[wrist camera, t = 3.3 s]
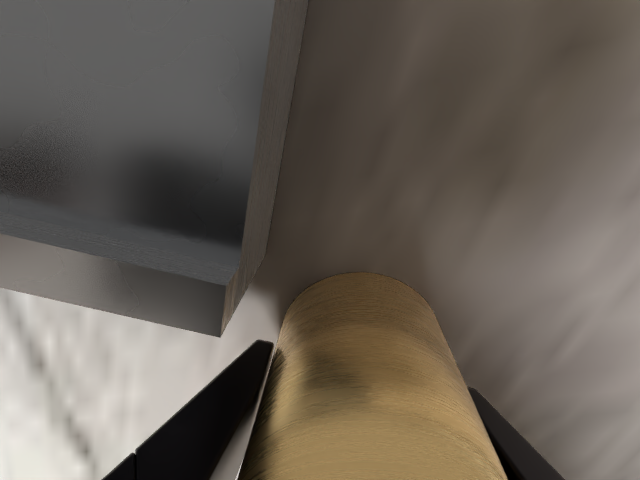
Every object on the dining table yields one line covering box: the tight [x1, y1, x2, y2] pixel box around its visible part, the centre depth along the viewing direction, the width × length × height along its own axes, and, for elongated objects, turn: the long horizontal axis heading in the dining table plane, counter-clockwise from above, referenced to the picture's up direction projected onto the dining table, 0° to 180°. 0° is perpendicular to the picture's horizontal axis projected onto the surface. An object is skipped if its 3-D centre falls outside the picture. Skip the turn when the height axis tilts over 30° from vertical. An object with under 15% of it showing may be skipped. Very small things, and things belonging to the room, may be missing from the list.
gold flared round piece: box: [237, 272, 508, 480], centre depth 6 cm, size 5×5×6 cm
